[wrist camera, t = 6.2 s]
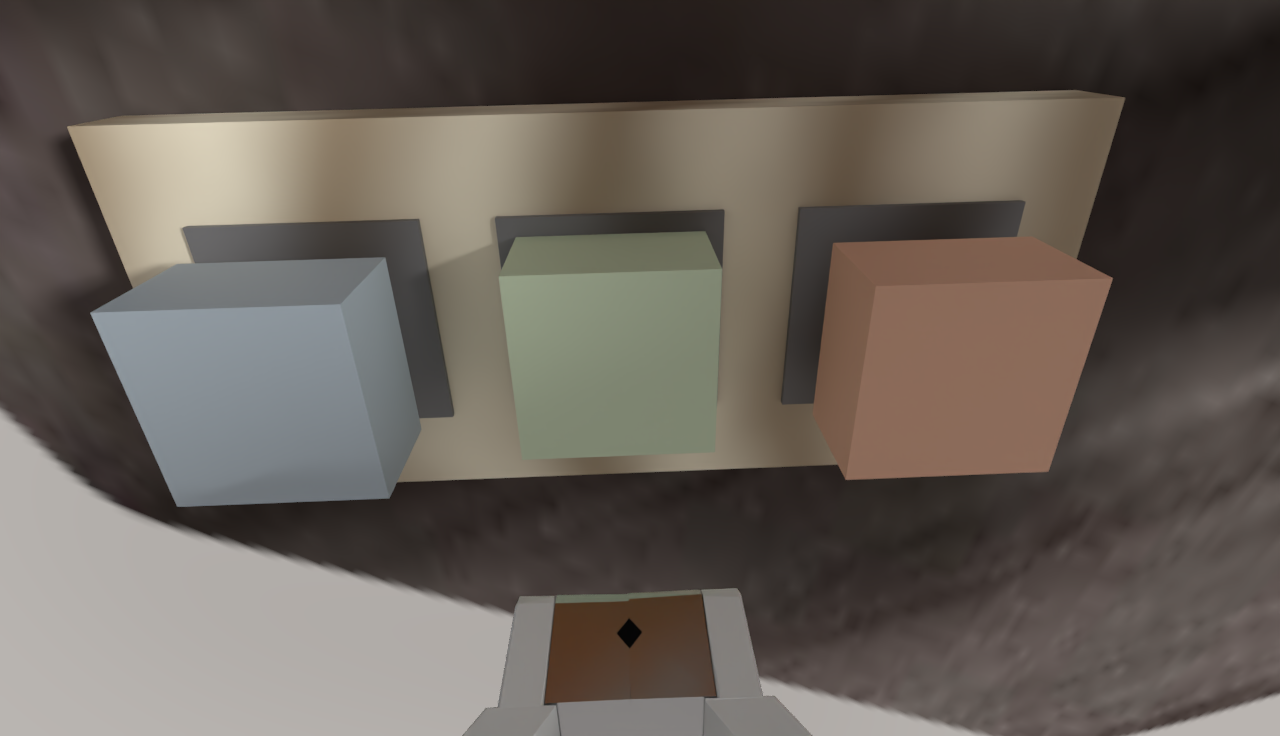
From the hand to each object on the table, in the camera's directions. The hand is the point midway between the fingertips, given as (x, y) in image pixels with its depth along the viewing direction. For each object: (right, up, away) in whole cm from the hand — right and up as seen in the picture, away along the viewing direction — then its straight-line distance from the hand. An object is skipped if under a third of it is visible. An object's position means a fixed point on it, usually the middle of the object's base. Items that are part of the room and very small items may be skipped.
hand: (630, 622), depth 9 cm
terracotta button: (+7, +4, +8) cm, 12 cm away
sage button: (-1, +5, +9) cm, 11 cm away
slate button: (-9, +4, +8) cm, 12 cm away
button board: (-1, +6, +11) cm, 13 cm away
